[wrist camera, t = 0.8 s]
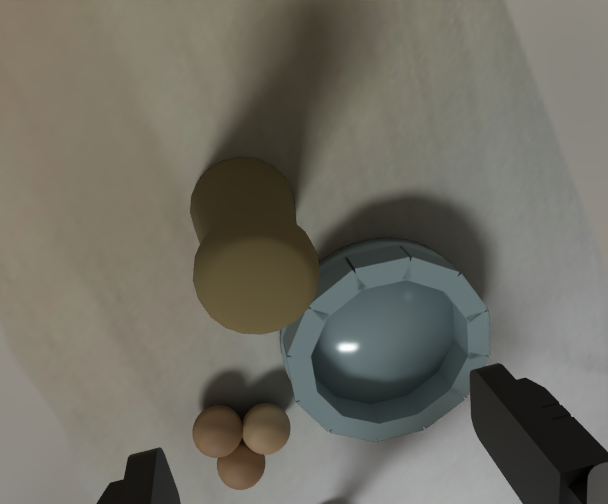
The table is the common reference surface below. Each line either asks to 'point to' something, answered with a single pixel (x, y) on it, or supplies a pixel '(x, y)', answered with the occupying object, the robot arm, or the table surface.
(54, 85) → the table surface
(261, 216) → the cork
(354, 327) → the dish
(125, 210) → the table surface
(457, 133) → the table surface
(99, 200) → the table surface
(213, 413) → the bead pile
